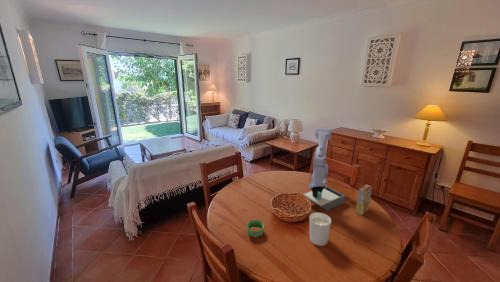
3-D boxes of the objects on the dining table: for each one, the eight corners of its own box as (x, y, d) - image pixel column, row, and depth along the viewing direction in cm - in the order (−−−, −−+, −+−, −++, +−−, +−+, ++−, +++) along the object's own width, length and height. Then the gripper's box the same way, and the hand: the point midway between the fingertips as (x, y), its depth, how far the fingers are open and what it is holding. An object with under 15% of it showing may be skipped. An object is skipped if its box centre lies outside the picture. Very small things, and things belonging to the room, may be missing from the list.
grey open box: (309, 199, 139) (310, 193, 137) (326, 193, 146) (327, 186, 145) (327, 210, 127) (327, 203, 126) (344, 202, 135) (345, 195, 133)
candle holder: (326, 250, 98) (328, 228, 95) (305, 242, 103) (306, 221, 100) (331, 237, 106) (333, 216, 103) (311, 230, 111) (312, 210, 108)
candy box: (361, 206, 131) (365, 183, 126) (369, 209, 127) (372, 186, 123) (354, 212, 125) (358, 188, 121) (362, 215, 122) (365, 191, 118)
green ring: (248, 239, 106) (248, 232, 105) (245, 227, 114) (245, 220, 113) (266, 237, 107) (266, 229, 106) (261, 225, 116) (261, 218, 115)
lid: (303, 195, 134) (303, 188, 133) (321, 188, 142) (321, 182, 141) (321, 206, 123) (321, 199, 122) (339, 197, 131) (340, 191, 129)
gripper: (314, 181, 119) (313, 203, 123) (332, 175, 126) (330, 195, 130) (305, 176, 125) (304, 197, 129) (322, 171, 132) (321, 190, 136)
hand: (316, 196), depth 130 cm, fingers closed on lid, 2 cm apart
